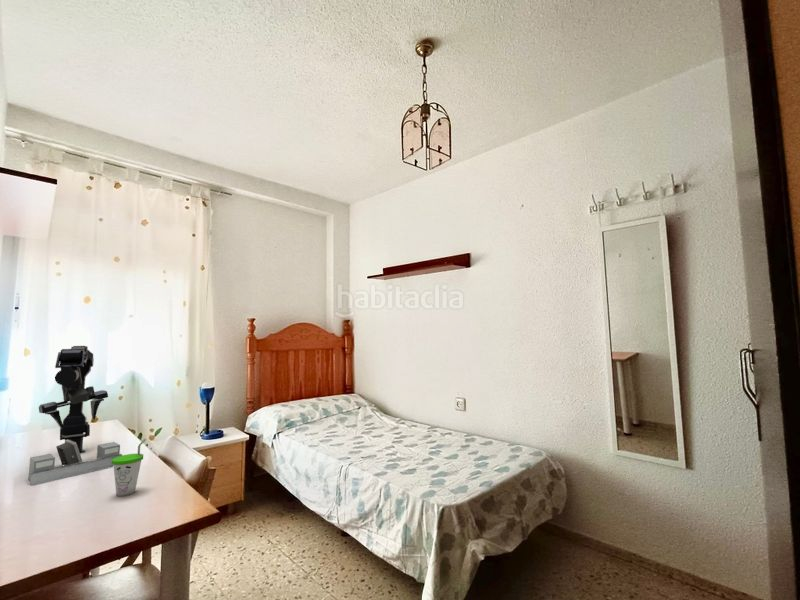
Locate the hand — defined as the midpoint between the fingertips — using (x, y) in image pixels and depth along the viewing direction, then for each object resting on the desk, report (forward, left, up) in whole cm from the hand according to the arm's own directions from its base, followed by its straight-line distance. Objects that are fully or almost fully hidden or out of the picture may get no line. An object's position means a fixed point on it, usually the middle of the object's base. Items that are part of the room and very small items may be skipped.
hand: (78, 424), depth 137 cm
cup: (+45, +3, -15) cm, 48 cm away
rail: (+12, -1, -15) cm, 19 cm away
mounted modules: (+7, -1, -15) cm, 17 cm away
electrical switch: (-2, -1, -15) cm, 15 cm away
